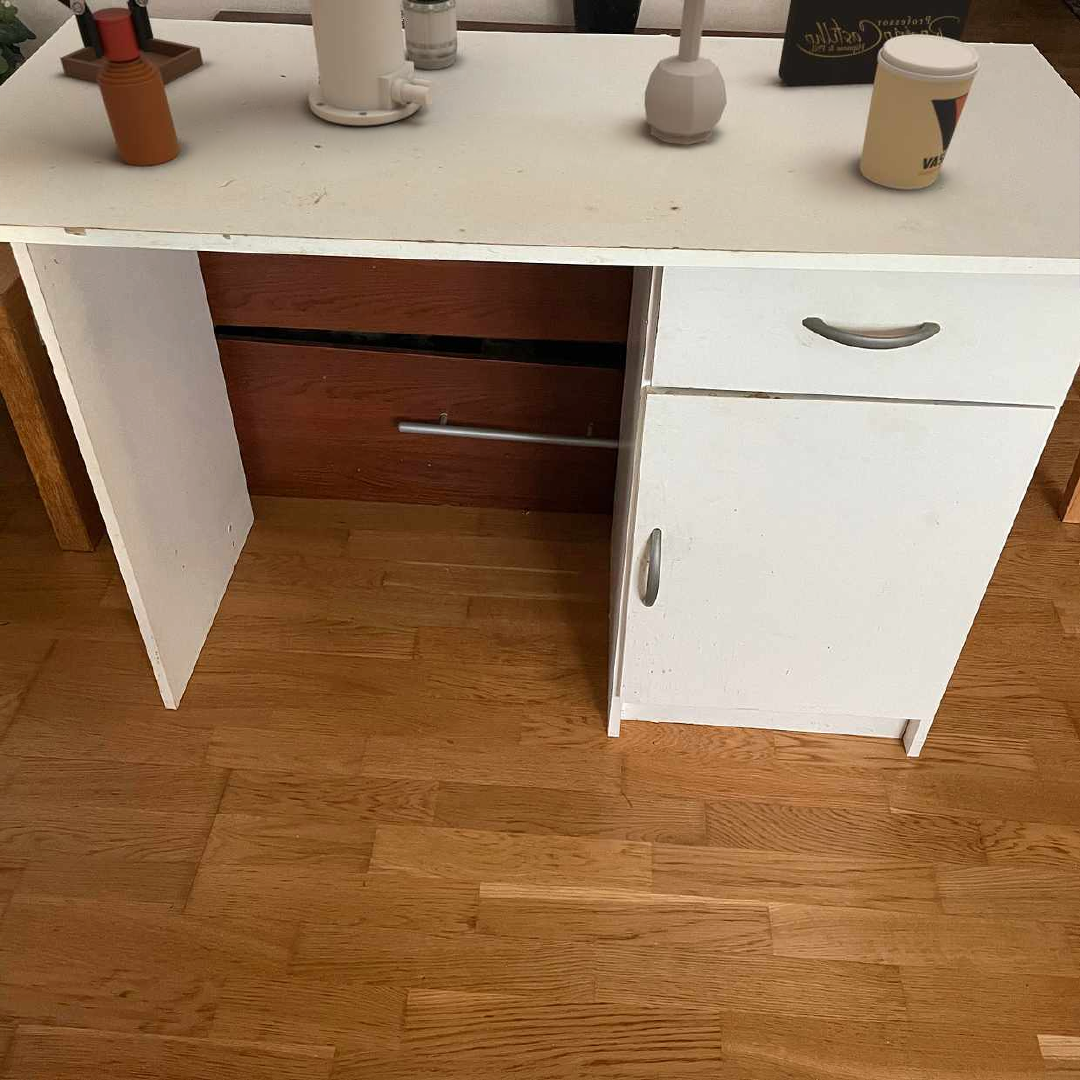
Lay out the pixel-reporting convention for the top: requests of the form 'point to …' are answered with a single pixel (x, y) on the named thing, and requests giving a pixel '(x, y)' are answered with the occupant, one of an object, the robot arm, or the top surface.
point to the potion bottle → (685, 87)
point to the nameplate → (857, 35)
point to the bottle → (138, 111)
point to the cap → (117, 34)
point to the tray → (162, 53)
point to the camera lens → (430, 32)
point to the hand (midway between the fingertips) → (120, 48)
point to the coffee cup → (915, 108)
